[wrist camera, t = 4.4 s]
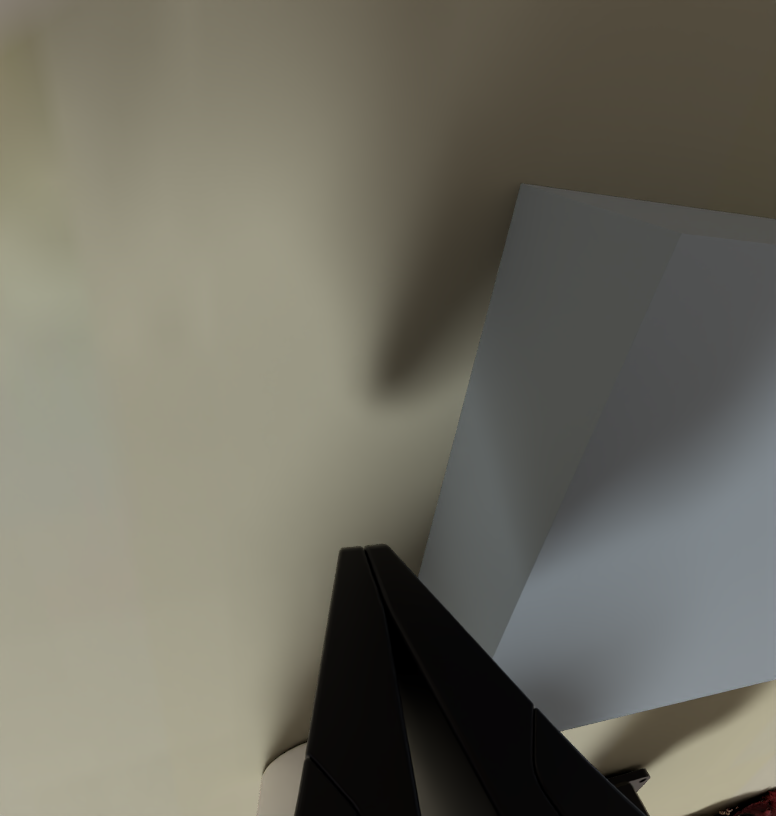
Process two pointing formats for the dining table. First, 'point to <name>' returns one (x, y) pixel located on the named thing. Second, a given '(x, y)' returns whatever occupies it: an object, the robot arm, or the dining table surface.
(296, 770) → the soft serve ice cream cone
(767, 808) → the plate with food
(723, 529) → the blue-grey square block
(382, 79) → the dining table surface
